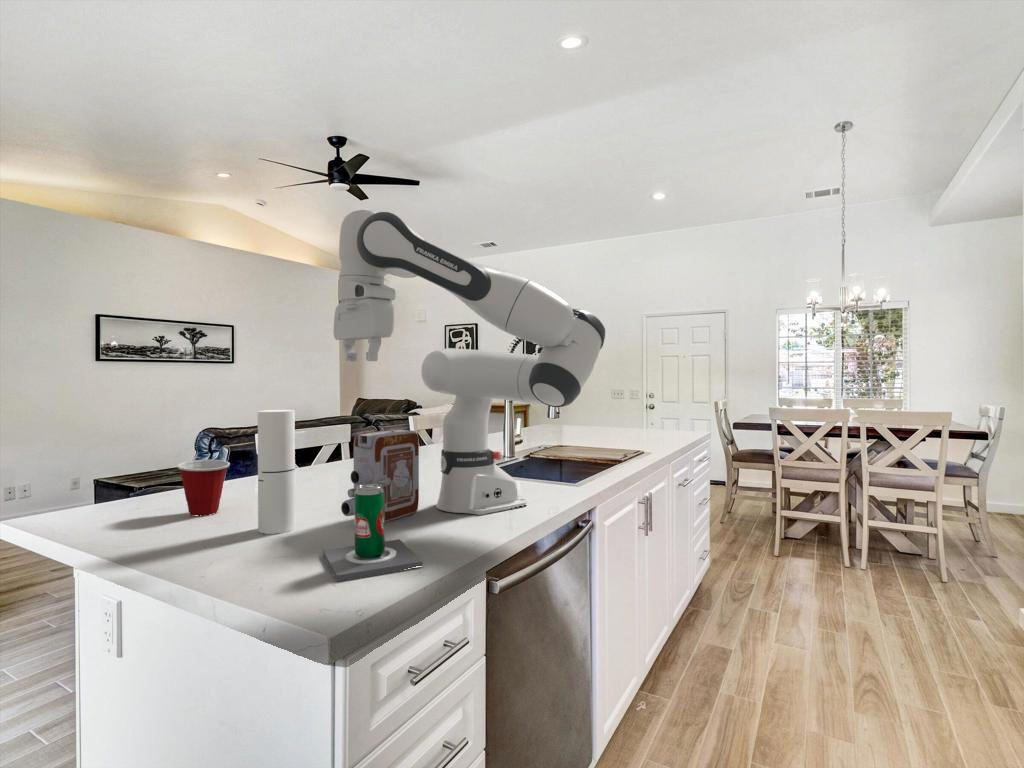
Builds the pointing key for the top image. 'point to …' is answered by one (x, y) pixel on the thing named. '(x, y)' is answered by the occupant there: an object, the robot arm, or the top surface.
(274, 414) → the cylindrical container
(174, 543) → the top surface
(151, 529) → the top surface
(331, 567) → the mount plate
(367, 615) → the top surface
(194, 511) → the plastic cup
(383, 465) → the cine camera
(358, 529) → the soda can
